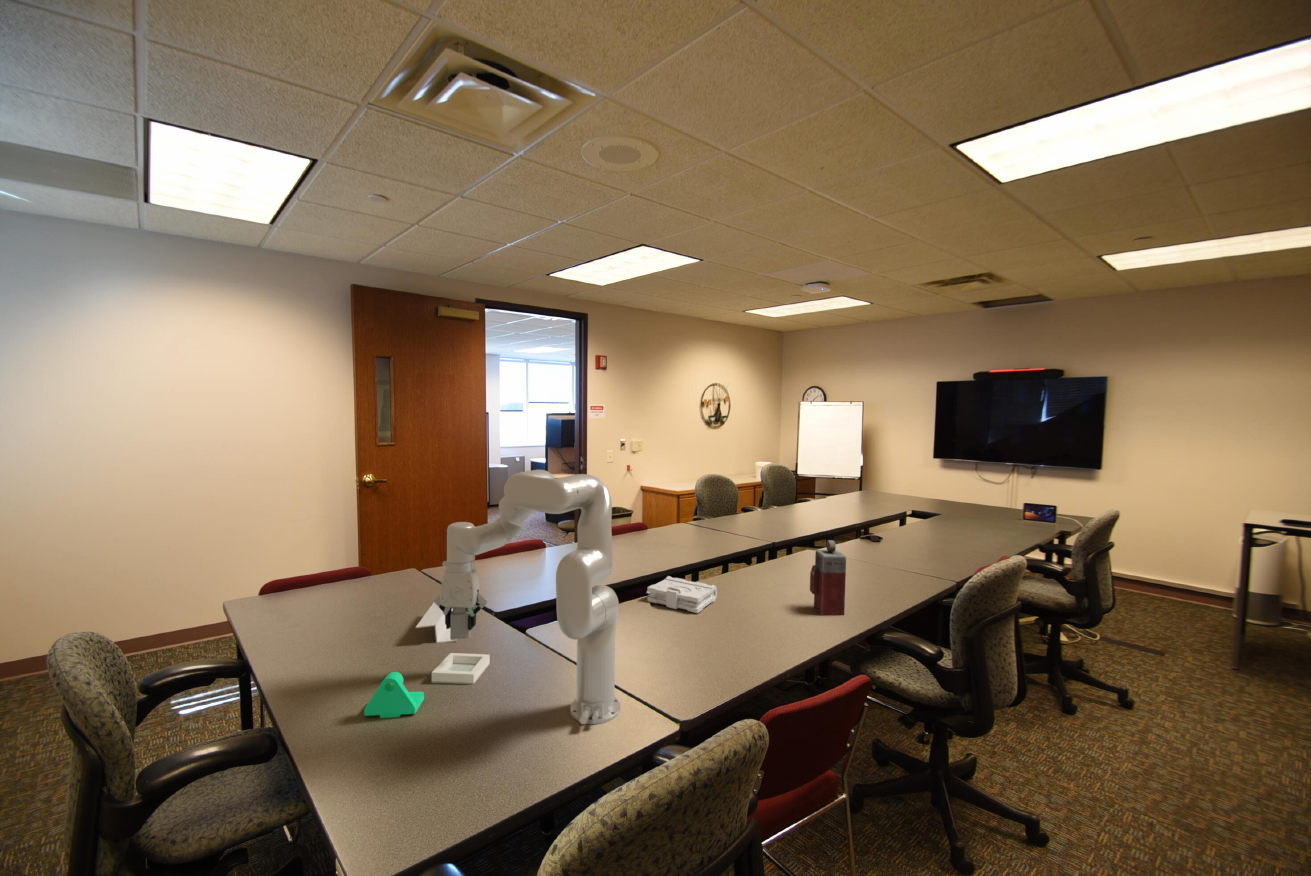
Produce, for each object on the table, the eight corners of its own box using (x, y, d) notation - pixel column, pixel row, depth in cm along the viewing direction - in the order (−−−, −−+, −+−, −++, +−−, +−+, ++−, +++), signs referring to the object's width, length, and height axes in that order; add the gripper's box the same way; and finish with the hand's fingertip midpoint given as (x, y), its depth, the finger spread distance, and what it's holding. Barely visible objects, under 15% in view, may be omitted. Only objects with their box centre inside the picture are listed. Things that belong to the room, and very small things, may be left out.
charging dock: (473, 684, 148) (473, 674, 148) (431, 682, 149) (431, 672, 149) (489, 664, 160) (489, 654, 160) (450, 662, 161) (450, 652, 161)
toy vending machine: (807, 607, 210) (809, 537, 208) (836, 608, 210) (838, 537, 208) (814, 616, 201) (817, 543, 199) (844, 616, 201) (847, 543, 199)
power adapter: (470, 638, 153) (470, 597, 153) (450, 639, 152) (450, 598, 151) (470, 633, 156) (470, 593, 156) (450, 635, 155) (451, 594, 154)
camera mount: (425, 701, 140) (424, 662, 140) (415, 717, 133) (414, 677, 132) (377, 702, 139) (376, 664, 138) (364, 719, 131) (363, 679, 131)
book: (659, 587, 232) (660, 570, 232) (718, 600, 218) (719, 581, 217) (635, 600, 216) (635, 582, 215) (697, 615, 201) (697, 595, 201)
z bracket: (417, 645, 173) (415, 626, 173) (437, 616, 198) (435, 599, 198) (456, 640, 175) (454, 622, 175) (471, 612, 200) (469, 595, 199)
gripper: (425, 568, 150) (425, 631, 151) (485, 571, 149) (484, 634, 150) (437, 560, 157) (437, 620, 158) (495, 563, 156) (494, 623, 157)
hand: (460, 626), depth 154 cm, fingers closed on power adapter, 5 cm apart
